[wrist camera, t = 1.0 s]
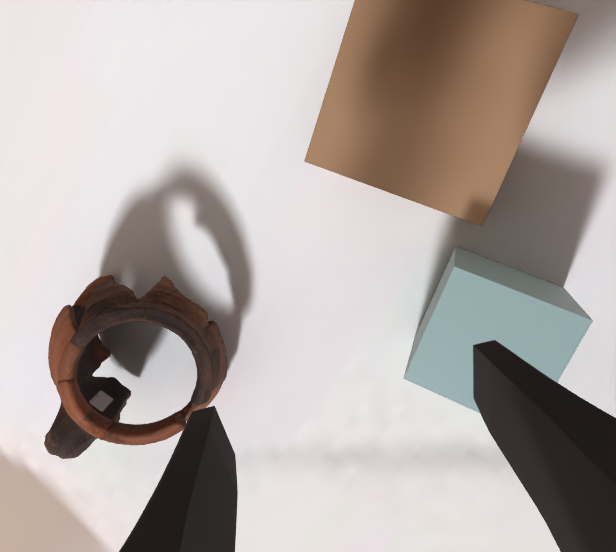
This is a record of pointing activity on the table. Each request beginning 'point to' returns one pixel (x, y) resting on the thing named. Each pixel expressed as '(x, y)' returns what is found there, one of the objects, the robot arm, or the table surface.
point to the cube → (491, 324)
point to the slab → (437, 96)
